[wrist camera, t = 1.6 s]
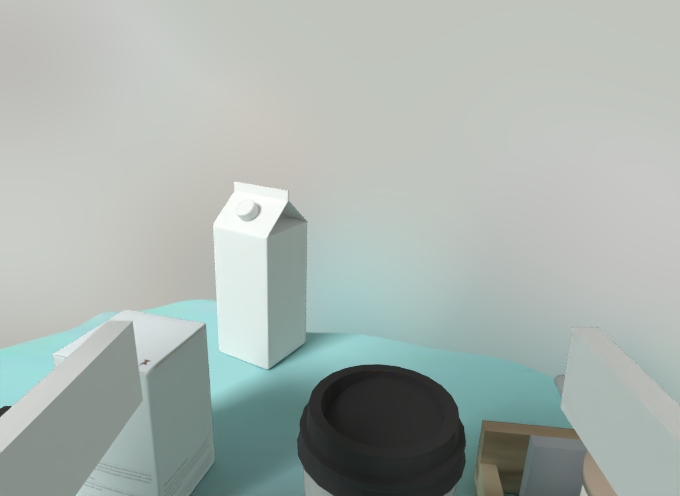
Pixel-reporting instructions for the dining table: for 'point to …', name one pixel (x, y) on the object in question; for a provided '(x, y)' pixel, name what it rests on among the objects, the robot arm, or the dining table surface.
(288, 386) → the dining table surface
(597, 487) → the cream jar
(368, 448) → the coffee cup
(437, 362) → the dining table surface
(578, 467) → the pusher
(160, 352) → the supplement box
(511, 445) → the lane
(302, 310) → the milk carton
